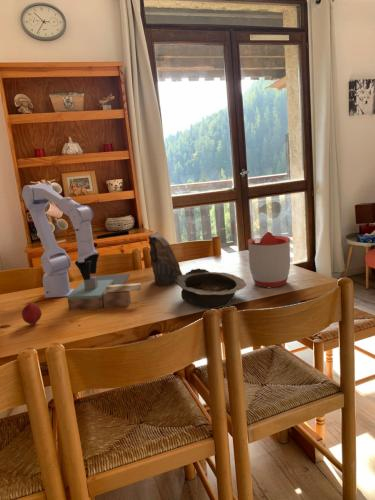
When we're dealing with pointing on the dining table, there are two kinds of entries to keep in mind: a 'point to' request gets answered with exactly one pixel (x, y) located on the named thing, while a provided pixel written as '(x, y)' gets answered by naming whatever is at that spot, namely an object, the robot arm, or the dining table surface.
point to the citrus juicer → (269, 260)
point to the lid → (90, 289)
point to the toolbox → (102, 301)
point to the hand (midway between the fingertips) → (90, 276)
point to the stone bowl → (208, 287)
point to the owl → (163, 261)
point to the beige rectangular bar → (123, 287)
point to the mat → (115, 278)
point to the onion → (31, 313)
